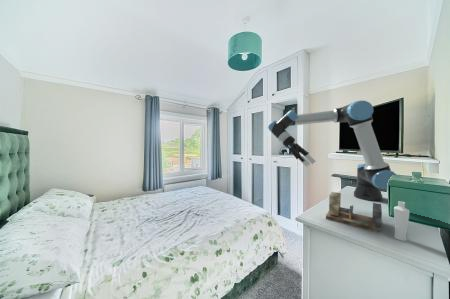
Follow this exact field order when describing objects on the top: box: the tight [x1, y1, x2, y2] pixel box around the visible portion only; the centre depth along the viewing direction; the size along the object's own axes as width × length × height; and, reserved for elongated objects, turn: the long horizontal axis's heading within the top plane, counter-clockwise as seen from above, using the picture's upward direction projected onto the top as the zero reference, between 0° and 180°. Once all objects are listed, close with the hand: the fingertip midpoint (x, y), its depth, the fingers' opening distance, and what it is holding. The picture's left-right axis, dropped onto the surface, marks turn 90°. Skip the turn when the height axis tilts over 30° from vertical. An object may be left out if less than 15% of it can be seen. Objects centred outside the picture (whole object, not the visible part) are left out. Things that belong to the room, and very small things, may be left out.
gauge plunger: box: [328, 191, 350, 216], centre depth 89 cm, size 8×7×10 cm
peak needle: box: [348, 205, 354, 220], centre depth 85 cm, size 1×9×4 cm, turn 139°
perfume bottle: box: [393, 200, 411, 242], centre depth 70 cm, size 5×4×15 cm
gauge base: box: [325, 202, 383, 233], centre depth 85 cm, size 21×12×9 cm, turn 49°
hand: (311, 164), depth 105 cm, fingers open, 12 cm apart
